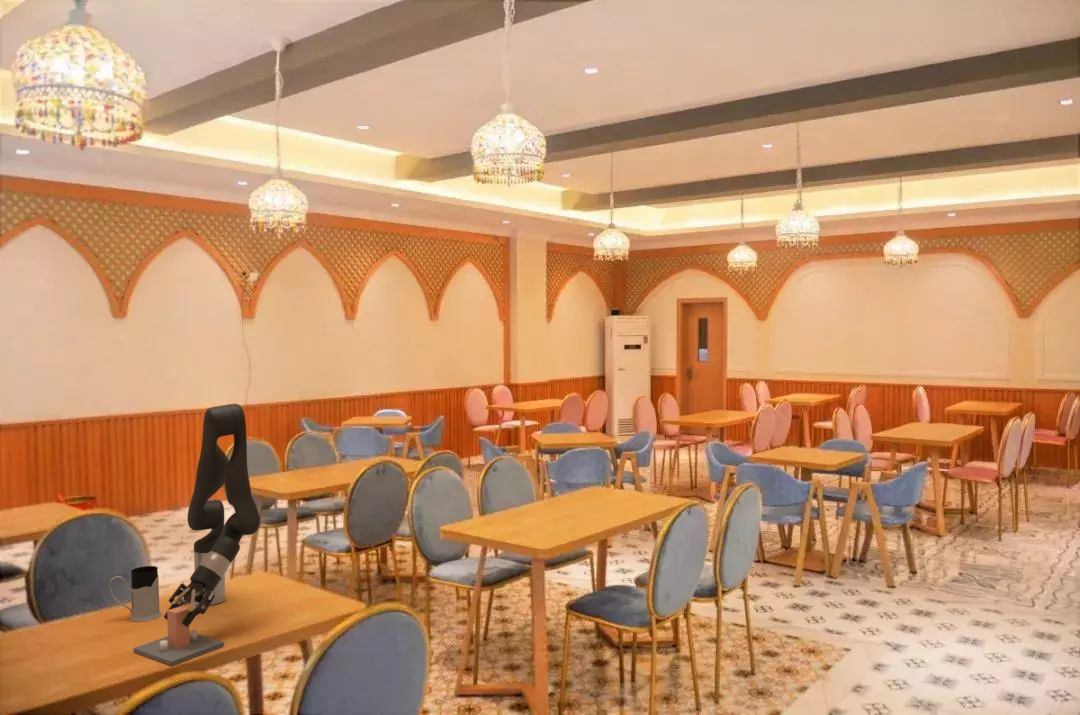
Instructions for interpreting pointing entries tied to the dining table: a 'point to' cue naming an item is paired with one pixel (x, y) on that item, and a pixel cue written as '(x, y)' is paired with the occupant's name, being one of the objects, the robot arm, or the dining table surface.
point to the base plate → (174, 656)
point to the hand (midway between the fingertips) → (175, 622)
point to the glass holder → (143, 593)
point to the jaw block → (177, 628)
